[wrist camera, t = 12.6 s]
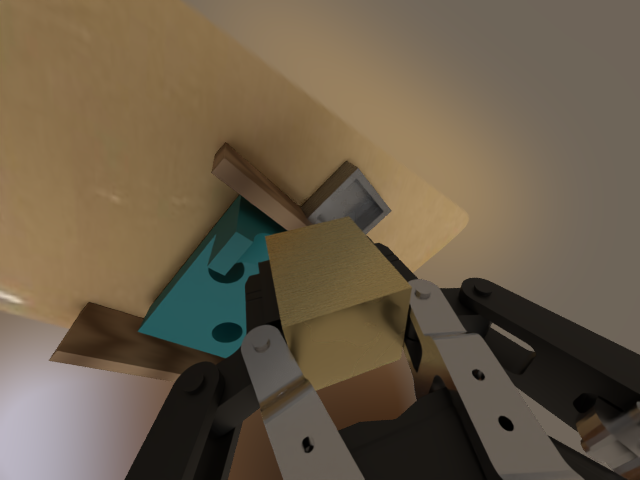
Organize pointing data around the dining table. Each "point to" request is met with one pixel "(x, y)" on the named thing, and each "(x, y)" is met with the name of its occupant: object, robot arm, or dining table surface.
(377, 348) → the key block
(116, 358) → the bracket
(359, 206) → the tray
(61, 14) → the dining table surface
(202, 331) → the teal l-shaped bracket
